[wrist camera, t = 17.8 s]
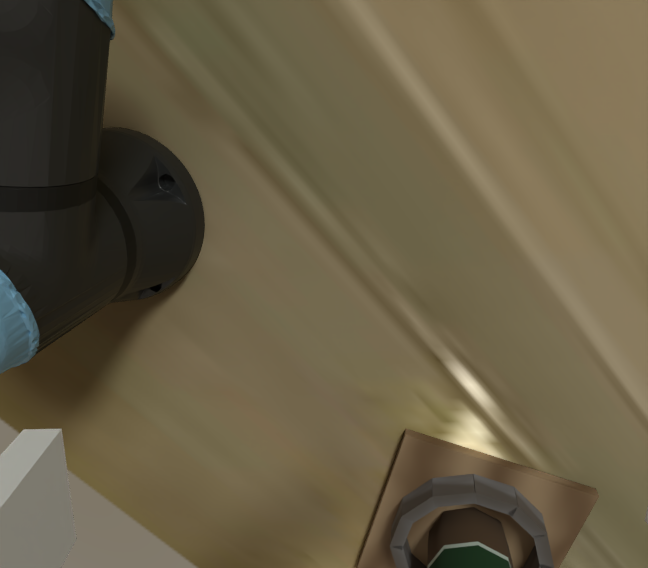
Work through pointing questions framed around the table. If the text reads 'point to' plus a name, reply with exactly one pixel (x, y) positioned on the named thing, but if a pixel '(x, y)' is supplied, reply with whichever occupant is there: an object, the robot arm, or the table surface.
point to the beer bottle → (468, 541)
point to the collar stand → (472, 504)
